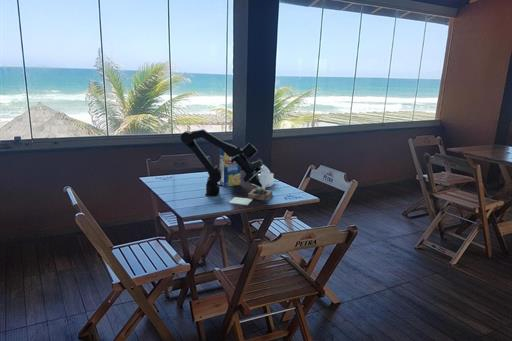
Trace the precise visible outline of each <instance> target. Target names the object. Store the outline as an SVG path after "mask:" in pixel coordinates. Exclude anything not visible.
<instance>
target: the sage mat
mask: <svg viewBox="0 0 512 341" xmlns="http://www.w3.org/2000/svg"><path fill="white" fill-rule="evenodd" d="M253 200H254V199H248V197H237V196H234V197H233V198H232V199H231V200H230V201H228V204H231V205H232V204H233V205H240V206H241V205H242V206H249V204H250V203H251V202H252V201H253Z"/></svg>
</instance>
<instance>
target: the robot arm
mask: <svg viewBox="0 0 512 341" xmlns="http://www.w3.org/2000/svg"><path fill="white" fill-rule="evenodd" d="M201 138H203V139H204V140H206V141H207V142H209V143H210V144H213V145H214V146H216V147H217V148H219V149H220V148H221V149H222V150H223V151H224V152H225V153H226V154H227V155H228V156H230V157H234V158H231V163H233V162H236V163H237V164H238V166H239V167H240V168H241V172H243V173H244V174H245V176H244V177H243V178H242V179H243V182H244V183H247V182H248V183H250V184H251V185H252V184H255V185H257V186H259V187H262V184H261V183H260V181H259V180H258V178H257V174H261V171H260V170H261V169H262V168H261V166H262V165H263V164H264V162H263V160H262V159H260V158H256V159H255V161H253V162H252V161H249V160H248V159H249V158H250V159H251V158H253V156H255V155H256V154H257V153H259V152H258V151H259V150H257V148H256V147H255V146H254V145H253V144H251V143H250V142H248V143H247V144H246V145H245V146H244V147H243V148H242V147H237V146H236V145H234V144H232V143H230V142H227V141H226V142H225V141H223V140H221V138H218V137H217V136H215V135H213V134H211V133H210V132H208V131H207V130H205V129H204V128H202V129H198V130H193V131H190V130H189V131H188V130H185V131H183V132H182V133H181V135H180V140H181V142H182V143H183V144H184V145H185V146H186V147H188V148H189V149H190V150H191V151H192V153H193V154H194V155H195V156H196V157H197V159H198V161H199V162H200V163H201V164H202V166H203V167H204V168H205V170H206V172H207V174H208V177H207V180H206V185H205V186H206V187H205V188H206V189H205V190H206V191H205V193H204V195H205V196H209V197H217V196H218V195H220V193H221V192H220V188H221V187H220V186H219V185H220V180H221V175H222V174H221V170H220V167H219V166H218V165H213V163H212V162H211V161H210V160H209V159H208V157H207V156H206V154H205V153H204V152H203V150H202V149H201V148H200V146H199V145H198V143H197V141H196V140H198V139H201ZM239 154H240V155H239ZM236 155H237V156H236ZM238 155H239V156H238ZM259 171H260V172H259Z"/></svg>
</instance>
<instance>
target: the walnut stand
mask: <svg viewBox="0 0 512 341" xmlns="http://www.w3.org/2000/svg"><path fill="white" fill-rule="evenodd" d="M272 196H273V190H268V189H267V190H266V189H265V195H262V194H256V188H252V190H251V191H250V192H248V193H247V198H248V199H253V200H257V201H258V200H259V201H269V200H270V199H271V198H272Z"/></svg>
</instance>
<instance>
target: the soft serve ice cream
mask: <svg viewBox="0 0 512 341" xmlns="http://www.w3.org/2000/svg"><path fill="white" fill-rule="evenodd" d="M261 168H262V169H261V170H260V171H261V174H265V175H266V177H265V188H270V187H271V186H273V185H274V173H272V172H271V171H270V169H269V168H268V167H267V166H266V165H265V164H264V163H263V165H262V166H261ZM260 171H259V172H260ZM251 185H252V186H254V187H256V185H255V184H252V183H251Z"/></svg>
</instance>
